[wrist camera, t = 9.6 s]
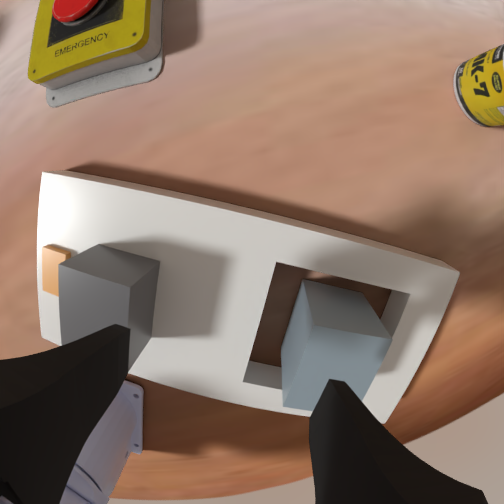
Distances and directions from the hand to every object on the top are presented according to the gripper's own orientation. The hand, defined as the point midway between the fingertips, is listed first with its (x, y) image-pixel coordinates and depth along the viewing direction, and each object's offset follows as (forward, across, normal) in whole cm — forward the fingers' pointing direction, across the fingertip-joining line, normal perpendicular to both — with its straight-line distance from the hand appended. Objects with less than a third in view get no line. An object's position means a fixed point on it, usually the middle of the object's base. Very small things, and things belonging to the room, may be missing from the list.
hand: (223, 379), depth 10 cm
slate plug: (+9, -5, +1) cm, 11 cm away
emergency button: (+10, +15, -17) cm, 25 cm away
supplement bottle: (+10, -12, -17) cm, 23 cm away
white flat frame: (+9, +1, +1) cm, 10 cm away
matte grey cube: (+7, +7, +2) cm, 10 cm away
